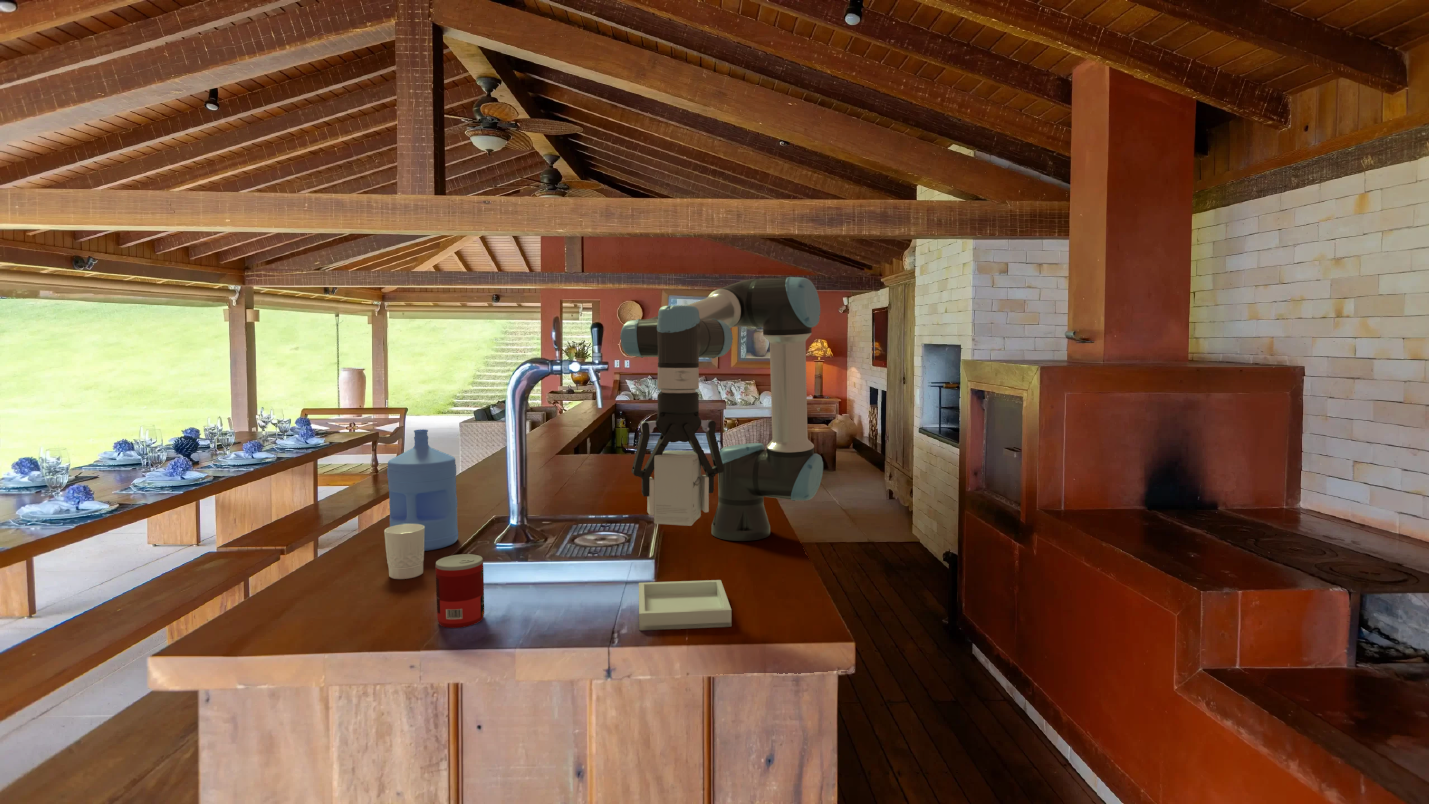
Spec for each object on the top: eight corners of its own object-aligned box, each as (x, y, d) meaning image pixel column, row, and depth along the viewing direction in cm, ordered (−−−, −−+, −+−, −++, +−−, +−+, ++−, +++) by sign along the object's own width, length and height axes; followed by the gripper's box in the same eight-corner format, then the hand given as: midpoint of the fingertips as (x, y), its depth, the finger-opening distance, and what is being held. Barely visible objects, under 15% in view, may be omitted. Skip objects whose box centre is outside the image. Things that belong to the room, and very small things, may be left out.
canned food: (492, 620, 130) (490, 560, 129) (448, 632, 125) (446, 569, 124) (472, 608, 136) (470, 551, 135) (430, 620, 130) (428, 560, 129)
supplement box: (692, 526, 130) (692, 456, 129) (652, 524, 132) (652, 455, 131) (702, 517, 138) (702, 450, 137) (664, 515, 139) (664, 449, 138)
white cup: (390, 582, 150) (389, 535, 149) (382, 573, 156) (380, 527, 156) (430, 575, 155) (429, 529, 154) (420, 566, 161) (419, 521, 160)
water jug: (407, 534, 187) (404, 426, 185) (468, 535, 187) (465, 426, 184) (377, 552, 172) (372, 434, 169) (443, 553, 171) (439, 434, 169)
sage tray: (638, 597, 142) (638, 582, 141) (720, 594, 143) (720, 579, 143) (639, 630, 126) (639, 613, 125) (731, 626, 127) (731, 609, 127)
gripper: (620, 393, 126) (620, 520, 128) (742, 391, 132) (741, 513, 134) (614, 390, 134) (615, 510, 135) (730, 389, 139) (729, 504, 141)
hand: (677, 512), depth 135 cm, fingers closed on supplement box, 9 cm apart
